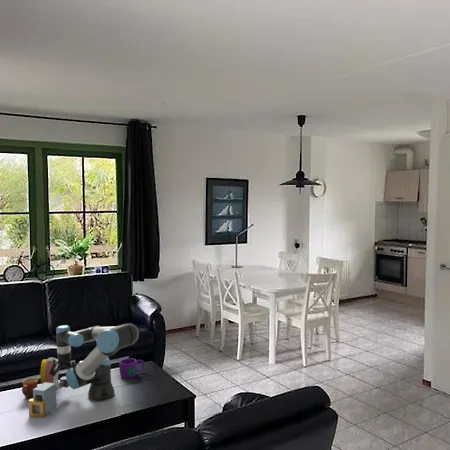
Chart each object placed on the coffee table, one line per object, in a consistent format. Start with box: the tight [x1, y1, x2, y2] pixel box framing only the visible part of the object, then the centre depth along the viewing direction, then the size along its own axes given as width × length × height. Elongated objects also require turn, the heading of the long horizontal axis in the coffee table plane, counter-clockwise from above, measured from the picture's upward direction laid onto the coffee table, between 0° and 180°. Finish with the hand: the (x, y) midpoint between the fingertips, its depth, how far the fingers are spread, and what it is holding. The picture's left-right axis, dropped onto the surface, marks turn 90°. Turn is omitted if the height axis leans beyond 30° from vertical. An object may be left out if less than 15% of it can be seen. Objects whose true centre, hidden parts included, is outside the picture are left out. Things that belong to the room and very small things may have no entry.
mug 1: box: [21, 377, 39, 400], centre depth 280 cm, size 12×9×10 cm
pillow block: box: [33, 382, 59, 416], centre depth 263 cm, size 12×10×14 cm
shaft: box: [56, 375, 70, 392], centre depth 273 cm, size 5×21×5 cm, turn 164°
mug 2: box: [118, 357, 146, 379], centre depth 313 cm, size 17×11×10 cm, turn 124°
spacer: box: [27, 399, 47, 419], centre depth 257 cm, size 9×2×9 cm, turn 74°
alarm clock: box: [40, 357, 60, 385], centre depth 296 cm, size 15×8×18 cm, turn 9°
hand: (65, 387), depth 281 cm, fingers open, 13 cm apart
